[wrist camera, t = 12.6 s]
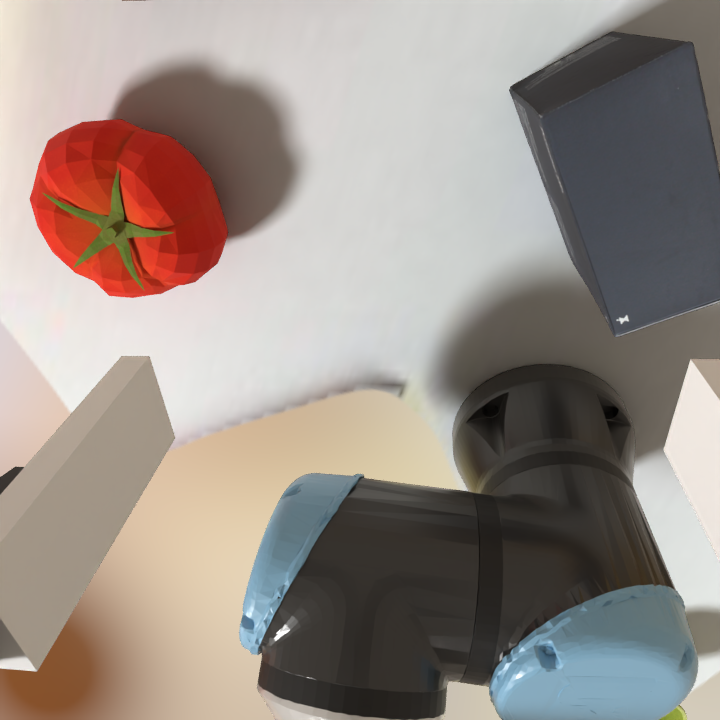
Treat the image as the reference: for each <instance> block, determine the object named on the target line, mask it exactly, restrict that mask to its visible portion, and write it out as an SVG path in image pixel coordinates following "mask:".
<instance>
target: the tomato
mask: <svg viewBox="0 0 720 720" xmlns="http://www.w3.org/2000/svg"><path fill="white" fill-rule="evenodd" d="M30 201H31V205H32V208H33V212H34V215H35V219H36V222H37V226H38V228H39V230H40V231H41V233H42V235H43V236H44V238H45V240H46V242H47V243H48V245H49V247H50V249H51V250H52V252H53V253H54V254H55V255H56V256H58V257H59V258H60V259H61V260H62V261H63V262H64V263H65V264H66V265H67V266H69V267H70V268H71V269H72V270H73V271H74V272H75V273H77V274H79V275H82V276H84V277H86V278H89V279H91V280H93V281H95V282H96V283H97V284H98V285H99V286H100V287H101V288H102V289H103V290H104V291H105V292H106V293H107V294H108V295H109V296H119V297H131V298H134V297H140V296H146V295H154V294H161V293H164V292H166V291H168V290H170V289H172V288H174V287H176V286H178V285H185V284H189V283H193V282H196V281H197V280H198V279H199V278H200V277H202V276H203V275H204V274H205V273H206V272H208V271H209V270H210V269H211V268H213V267H214V266H215V265H216V264H217V263H218V261H219V259H220V257H221V254H222V251H223V248H224V245H225V241H226V238H227V235H228V230H227V225H226V222H225V219H224V216H223V212H222V209H221V206H220V203H219V200H218V197H217V194H216V191H215V189H214V186H213V183H212V180H211V178H210V176H209V175H208V174H207V172H206V171H205V170H204V168H203V167H202V166H201V164H200V163H199V162H198V160H197V159H196V158H195V157H194V155H192V154H191V153H190V152H189V151H188V150H187V149H185V148H184V147H183V146H182V145H181V144H180V143H178V142H177V141H176V140H175V139H174V138H172V137H171V136H168V135H164V134H160V133H156V132H152V131H148V130H144V129H141V128H139V127H137V126H135V125H132V124H130V123H128V122H126V121H124V120H122V119H117V120H103V121H90V122H82V123H80V124H77V125H75V126H73V127H71V128H69V129H66V130H64V131H62V132H60V133H58V134H57V135H55V136H54V137H53V138H51V139H50V140H49V141H48V143H47V145H46V148H45V150H44V153H43V155H42V158H41V160H40V163H39V166H38V170H37V174H36V178H35V182H34V186H33V190H32V193H31V196H30Z"/></svg>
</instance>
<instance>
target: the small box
mask: <svg viewBox="0 0 720 720" xmlns="http://www.w3.org/2000/svg"><path fill="white" fill-rule="evenodd" d="M509 91H510V94H511V96H512V99H513V101H514V104H515V107H516V110H517V112H518V115H519V118H520V121H521V124H522V127H523V129H524V132H525V135H526V138H527V140H528V143H529V146H530V148H531V151H532V154H533V157H534V159H535V162H536V165H537V167H538V170H539V173H540V176H541V179H542V181H543V184H544V187H545V190H546V192H547V195H548V198H549V201H550V203H551V206H552V209H553V211H554V214H555V217H556V220H557V223H558V225H559V228H560V231H561V234H562V237H563V239H564V242H565V245H566V247H567V250H568V253H569V255H570V258H571V260H572V262H573V264H574V266H575V267H576V269H577V271H578V272H579V274H580V276H581V277H582V279H583V280H584V282H585V284H586V285H587V287H588V288H589V290H590V292H591V294H592V295H593V297H594V299H595V301H596V302H597V304H598V306H599V308H600V310H601V312H602V314H603V315H604V317H605V319H606V321H607V323H608V325H609V327H610V329H611V331H612V333H613V335H614V336H615V337H619V336H622V335H625V334H628V333H631V332H634V331H637V330H639V329H642V328H645V327H648V326H651V325H654V324H656V323H659V322H662V321H665V320H668V319H671V318H674V317H677V316H680V315H683V314H686V313H689V312H692V311H695V310H698V309H701V308H704V307H707V306H711V305H713V304H716V303H718V302H720V173H719V167H718V162H717V157H716V152H715V147H714V142H713V137H712V133H711V127H710V122H709V119H708V112H707V107H706V102H705V96H704V92H703V87H702V82H701V78H700V73H699V68H698V63H697V59H696V55H695V50H694V45H693V43H692V42H685V41H678V40H670V39H662V38H655V37H647V36H640V35H631V34H624V33H618V32H611V33H609V34H607V35H605V36H603V37H601V38H600V39H598V40H596V41H593V42H592V43H590V44H588V45H586V46H584V47H583V48H581V49H579V50H577V51H575V52H574V53H572V54H570V55H568V56H566V57H564V58H562V59H560V60H559V61H557V62H555V63H553V64H551V65H549V66H547V67H546V68H544V69H542V70H540V71H538V72H536V73H534V74H532V75H531V76H529V77H527V78H526V79H524V80H522V81H520V82H518V83H516V84H514V85H513V86H511V87H510V89H509Z"/></svg>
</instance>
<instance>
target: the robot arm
mask: <svg viewBox="0 0 720 720" xmlns="http://www.w3.org/2000/svg"><path fill="white" fill-rule="evenodd" d="M452 437H453V455H454V460H455V464H456V467H457V469H458V472H459V474H460V476H461V478H462V479H463V481H464V483H465V485H466V487H467V489H468V491H469V492H468V491H460V490H451V489H444V488H436V487H428V486H420V485H412V484H405V483H397V482H388V481H381V480H374V479H366V478H364V475H363V474H356V475H354V476H345V475H332V474H320V473H311V474H306V475H303V476H301V477H299V478H298V479H296V480H295V481H294V482H293V483H292V484H291V485H290V486H289V487H288V488H287V489H286V491H285V492H284V493H283V495H282V497H281V498H280V500H279V502H278V504H277V506H276V508H275V510H274V512H273V514H272V516H271V519H270V521H269V523H268V526H267V528H266V531H265V533H264V536H263V538H262V541H261V544H260V547H259V550H258V553H257V556H256V559H255V562H254V565H253V568H252V572H251V575H250V579H249V582H248V586H247V590H246V594H245V599H244V603H243V616H242V621H241V624H240V631H239V636H240V641H241V644H242V646H243V647H244V648H246V649H248V650H249V651H250V652H251V653H252V654H255V655H259V654H260V653H262V661H261V667H260V672H259V679H258V684H257V689H258V692H259V694H260V695H261V697H262V698H263V700H264V702H265V703H266V705H267V706H268V707H269V709H270V711H271V712H272V714H273V716H274V719H275V720H443V719H444V717H445V707H446V692H447V685H448V682H449V681H453V682H461V683H468V684H474V685H481V686H487V687H489V694H490V697H491V702H492V703H493V705H494V706H495V709H496V711H497V713H498V715H499V717H500V718H501V719H502V720H659V719H661V718H662V717H664V716H665V715H667V714H668V713H670V712H671V711H673V710H674V709H675V708H676V707H677V706H678V705H679V704H680V703H681V702H682V701H683V700H684V699H685V698H686V697H687V695H688V694H689V693H690V691H691V689H692V687H693V686H694V683H695V681H696V677H697V672H698V655H697V651H696V647H695V644H694V641H693V637H692V634H691V631H690V628H689V624H688V621H687V618H686V614H685V606H684V602H683V599H682V598H681V596H680V595H679V594H678V592H677V591H676V589H675V587H674V585H673V582H672V580H671V577H670V575H669V572H668V570H667V568H666V565H665V563H664V560H663V558H662V555H661V553H660V551H659V548H658V546H657V543H656V541H655V538H654V536H653V534H652V531H651V529H650V526H649V524H648V522H647V519H646V517H645V514H644V512H643V509H642V507H641V505H640V502H639V500H638V498H637V495H636V493H635V490H634V488H633V472H634V456H635V433H634V428H633V425H632V422H631V419H630V417H629V415H628V413H627V410H626V408H625V406H624V404H623V402H622V400H621V398H620V397H619V396H618V394H617V393H616V392H615V391H614V390H613V389H612V388H611V387H610V386H609V385H608V384H607V383H605V382H604V381H603V380H601V379H600V378H598V377H596V376H594V375H592V374H590V373H588V372H585V371H583V370H580V369H576V368H572V367H567V366H561V365H533V366H526V367H521V368H517V369H513V370H510V371H507V372H504V373H502V374H500V375H497V376H495V377H493V378H492V379H490V380H488V381H486V382H485V383H483V384H482V385H481V386H479V387H478V388H477V389H476V390H474V391H473V392H472V393H471V394H470V395H469V396H468V398H467V399H466V400H465V401H464V403H463V404H462V406H461V407H460V409H459V411H458V413H457V415H456V418H455V421H454V425H453V432H452ZM174 439H175V436H174V433H173V429H172V426H171V423H170V420H169V417H168V414H167V410H166V407H165V404H164V401H163V398H162V395H161V392H160V388H159V385H158V382H157V379H156V376H155V373H154V369H153V366H152V363H151V360H150V357H149V356H121V358H120V359H119V360H118V361H117V362H116V363H115V364H114V366H113V367H112V368H111V369H110V370H109V371H108V372H107V374H106V375H105V376H104V377H103V378H102V379H101V380H100V382H99V383H98V384H97V385H96V386H95V387H94V388H93V390H92V391H91V392H90V393H89V394H88V395H87V396H86V398H85V399H84V400H83V401H82V402H81V403H80V404H79V406H78V407H77V408H76V409H75V410H74V411H73V412H72V414H71V415H70V416H69V417H68V418H67V419H66V421H65V422H64V423H63V424H62V425H61V426H60V427H59V428H58V430H57V431H56V432H55V433H54V434H53V435H52V436H51V438H50V439H49V440H48V441H47V442H46V443H45V445H44V446H43V447H42V448H41V449H40V450H39V451H38V452H37V454H36V455H35V456H34V457H33V458H32V459H31V460H30V462H29V463H28V464H27V465H26V466H25V467H14V468H13V469H12V470H10V471H8V472H7V473H6V474H4V475H3V476H1V477H0V668H4V669H16V670H27V671H38V669H39V667H40V666H41V664H42V662H43V661H44V659H45V657H46V655H47V654H48V652H49V650H50V649H51V647H52V645H53V644H54V642H55V640H56V639H57V637H58V635H59V633H60V632H61V630H62V628H63V627H64V625H65V623H66V622H67V620H68V618H69V617H70V615H71V613H72V612H73V610H74V608H75V606H76V605H77V603H78V601H79V600H80V598H81V596H82V595H83V593H84V591H85V590H86V588H87V586H88V584H89V583H90V581H91V579H92V578H93V576H94V574H95V573H96V571H97V569H98V568H99V566H100V564H101V563H102V561H103V559H104V557H105V556H106V554H107V552H108V551H109V549H110V547H111V546H112V544H113V542H114V541H115V539H116V537H117V535H118V534H119V532H120V530H121V528H122V527H123V525H124V524H125V522H126V520H127V518H128V517H129V515H130V514H131V512H132V510H133V508H134V507H135V505H136V503H137V501H138V500H139V498H140V496H141V495H142V493H143V491H144V490H145V488H146V486H147V485H148V483H149V481H150V480H151V478H152V476H153V474H154V473H155V471H156V469H157V468H158V466H159V465H160V463H161V461H162V459H163V458H164V456H165V454H166V453H167V451H168V449H169V448H170V446H171V444H172V443H173V441H174ZM664 452H665V454H666V456H667V458H668V460H669V462H670V464H671V466H672V468H673V470H674V472H675V474H676V476H677V478H678V480H679V482H680V484H681V486H682V488H683V490H684V492H685V494H686V496H687V498H688V500H689V502H690V504H691V506H692V508H693V510H694V512H695V514H696V516H697V518H698V520H699V522H700V524H701V526H702V528H703V530H704V532H705V534H706V536H707V538H708V540H709V542H710V544H711V546H712V548H713V550H714V552H715V554H716V556H717V558H718V560H719V562H720V359H690V363H689V366H688V369H687V373H686V376H685V379H684V383H683V386H682V389H681V393H680V396H679V399H678V403H677V406H676V410H675V413H674V416H673V420H672V423H671V426H670V430H669V433H668V436H667V440H666V443H665V447H664Z"/></svg>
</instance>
